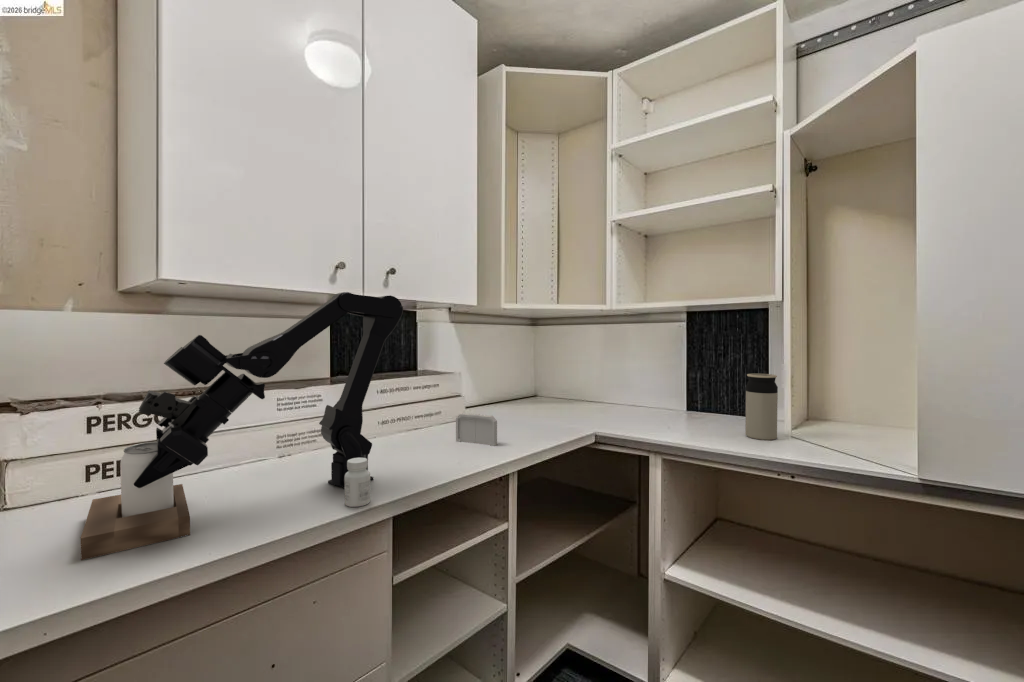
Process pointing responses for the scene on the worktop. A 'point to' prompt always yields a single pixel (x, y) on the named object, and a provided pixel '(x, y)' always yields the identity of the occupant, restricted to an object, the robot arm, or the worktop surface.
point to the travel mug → (761, 407)
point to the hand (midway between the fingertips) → (136, 481)
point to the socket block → (131, 525)
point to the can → (148, 496)
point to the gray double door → (476, 429)
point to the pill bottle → (357, 483)
